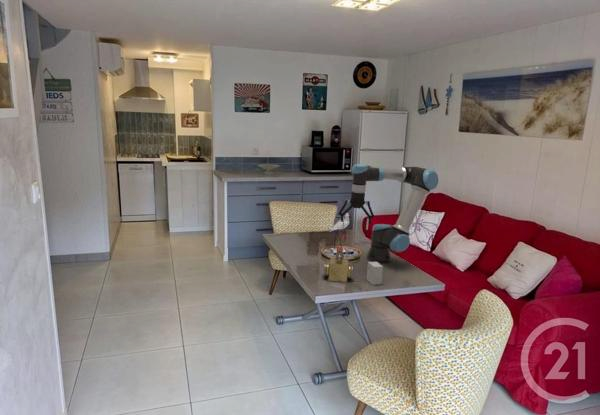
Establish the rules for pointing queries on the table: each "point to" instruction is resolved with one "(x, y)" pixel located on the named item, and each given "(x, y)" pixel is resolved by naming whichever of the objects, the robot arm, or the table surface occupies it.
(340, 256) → the lever
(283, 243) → the table surface
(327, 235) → the table surface
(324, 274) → the pipe
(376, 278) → the small box
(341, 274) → the valve body
